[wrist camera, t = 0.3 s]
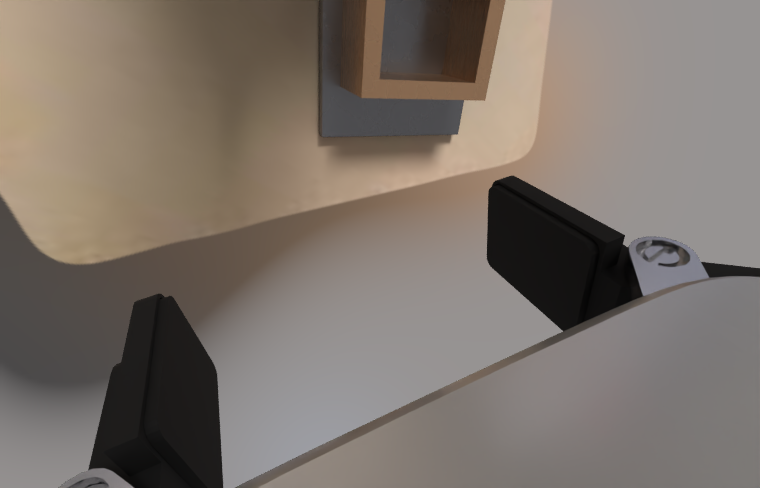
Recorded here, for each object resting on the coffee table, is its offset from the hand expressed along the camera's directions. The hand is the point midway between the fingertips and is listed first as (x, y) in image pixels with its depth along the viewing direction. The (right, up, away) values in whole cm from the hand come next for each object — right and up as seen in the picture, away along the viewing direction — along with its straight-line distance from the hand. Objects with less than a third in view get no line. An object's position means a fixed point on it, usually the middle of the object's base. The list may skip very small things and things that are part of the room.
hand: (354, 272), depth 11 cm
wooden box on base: (+3, +22, +26) cm, 34 cm away
